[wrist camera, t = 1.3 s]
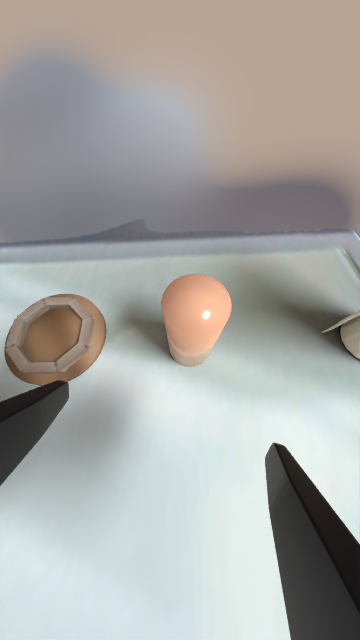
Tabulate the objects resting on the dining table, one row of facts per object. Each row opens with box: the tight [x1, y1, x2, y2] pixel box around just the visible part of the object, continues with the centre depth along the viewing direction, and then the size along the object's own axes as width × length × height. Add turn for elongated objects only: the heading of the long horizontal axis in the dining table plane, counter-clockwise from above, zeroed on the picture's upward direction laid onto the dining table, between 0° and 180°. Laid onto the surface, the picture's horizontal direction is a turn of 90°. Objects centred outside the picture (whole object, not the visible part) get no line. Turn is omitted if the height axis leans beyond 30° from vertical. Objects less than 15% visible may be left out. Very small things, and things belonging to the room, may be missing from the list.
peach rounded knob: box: [161, 274, 232, 367], centre depth 18 cm, size 5×5×10 cm
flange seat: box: [5, 294, 106, 385], centre depth 22 cm, size 11×11×2 cm
